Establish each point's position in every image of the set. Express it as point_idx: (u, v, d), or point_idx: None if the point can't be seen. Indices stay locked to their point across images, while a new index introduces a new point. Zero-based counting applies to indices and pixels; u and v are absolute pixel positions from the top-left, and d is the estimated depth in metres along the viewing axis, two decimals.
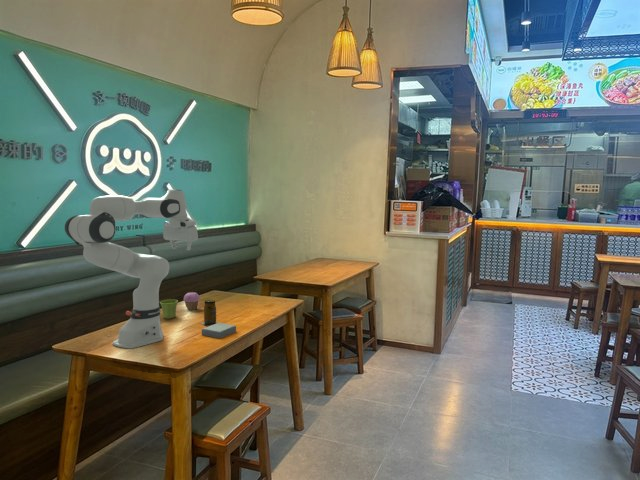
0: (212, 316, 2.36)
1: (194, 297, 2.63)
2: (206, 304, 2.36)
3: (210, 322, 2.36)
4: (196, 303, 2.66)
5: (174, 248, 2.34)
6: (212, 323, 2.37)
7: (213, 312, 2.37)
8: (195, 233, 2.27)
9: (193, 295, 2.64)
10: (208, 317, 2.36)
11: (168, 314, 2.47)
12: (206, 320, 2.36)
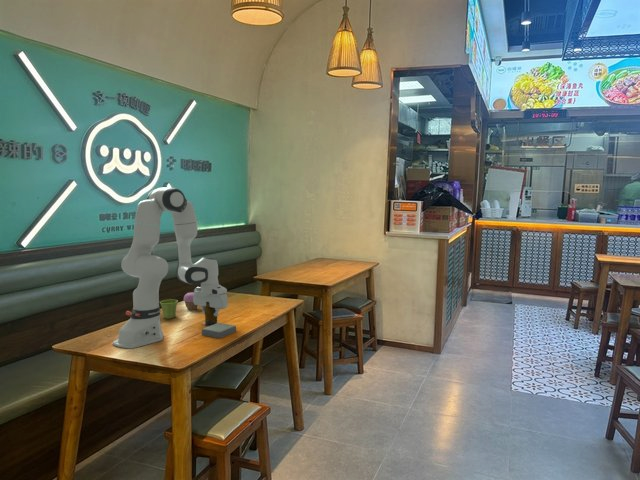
0: (213, 316, 2.36)
1: None
2: (207, 304, 2.36)
3: (211, 322, 2.36)
4: None
5: None
6: (213, 323, 2.37)
7: (214, 312, 2.36)
8: (226, 301, 2.33)
9: (193, 295, 2.64)
10: (209, 317, 2.36)
11: (168, 314, 2.47)
12: (207, 320, 2.36)
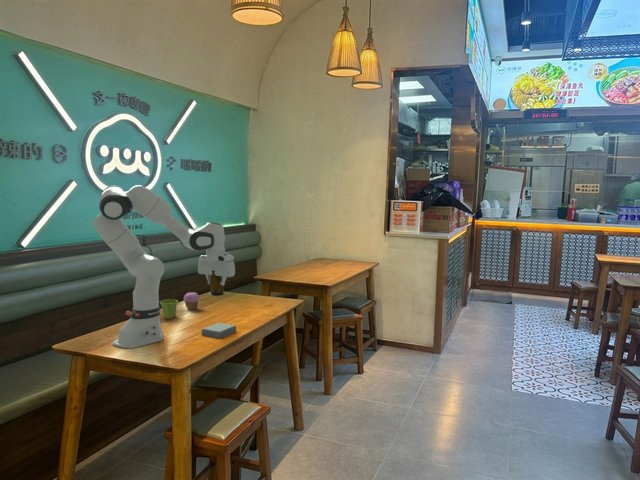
0: (219, 285, 2.22)
1: (194, 297, 2.63)
2: (213, 273, 2.22)
3: (217, 292, 2.22)
4: (196, 303, 2.66)
5: (210, 283, 2.25)
6: (219, 293, 2.23)
7: (220, 281, 2.23)
8: (233, 268, 2.19)
9: (193, 295, 2.64)
10: (215, 286, 2.22)
11: (168, 314, 2.47)
12: (213, 290, 2.22)
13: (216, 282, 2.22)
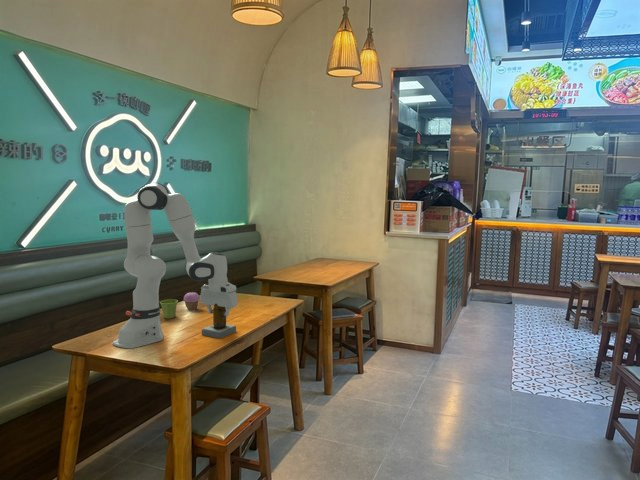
0: (222, 319, 2.21)
1: (194, 297, 2.63)
2: (216, 306, 2.20)
3: (220, 325, 2.20)
4: (196, 303, 2.66)
5: (211, 313, 2.23)
6: (222, 326, 2.21)
7: (223, 314, 2.21)
8: (235, 299, 2.17)
9: (193, 295, 2.64)
10: (218, 320, 2.20)
11: (168, 314, 2.47)
12: (216, 323, 2.20)
13: (219, 315, 2.20)
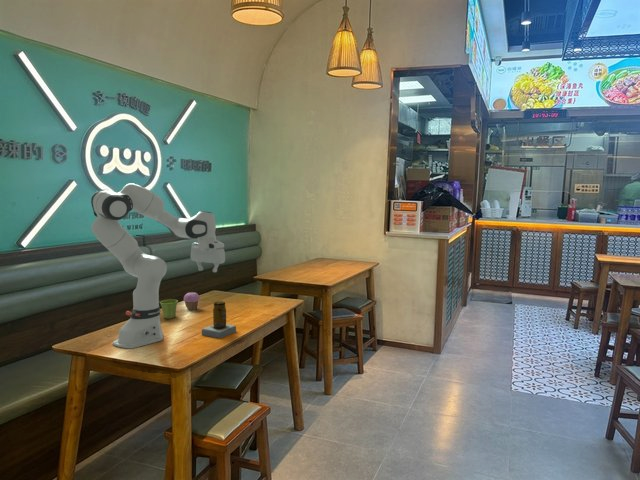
0: (222, 319, 2.21)
1: (194, 297, 2.63)
2: (216, 306, 2.20)
3: (220, 325, 2.20)
4: (196, 303, 2.66)
5: None
6: (222, 326, 2.21)
7: (223, 314, 2.21)
8: (223, 256, 2.27)
9: (193, 295, 2.64)
10: (218, 320, 2.20)
11: (168, 314, 2.47)
12: (216, 323, 2.20)
13: (219, 315, 2.20)
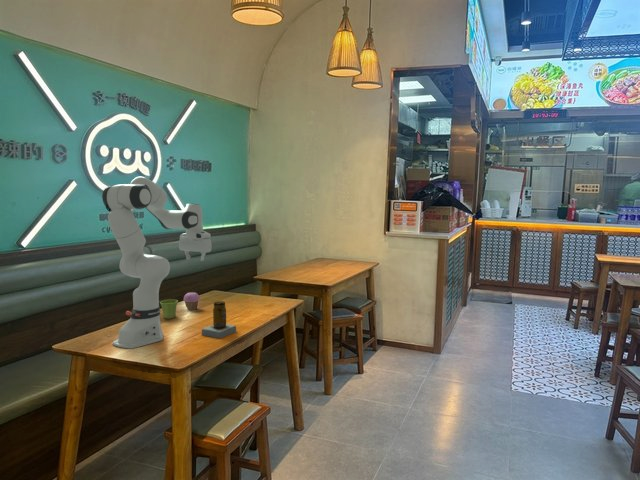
0: (222, 319, 2.21)
1: (194, 297, 2.63)
2: (216, 306, 2.20)
3: (220, 325, 2.20)
4: (196, 303, 2.66)
5: (188, 258, 2.50)
6: (222, 326, 2.21)
7: (223, 314, 2.21)
8: (209, 245, 2.44)
9: (193, 295, 2.64)
10: (218, 320, 2.20)
11: (168, 314, 2.47)
12: (216, 323, 2.20)
13: (219, 315, 2.20)
